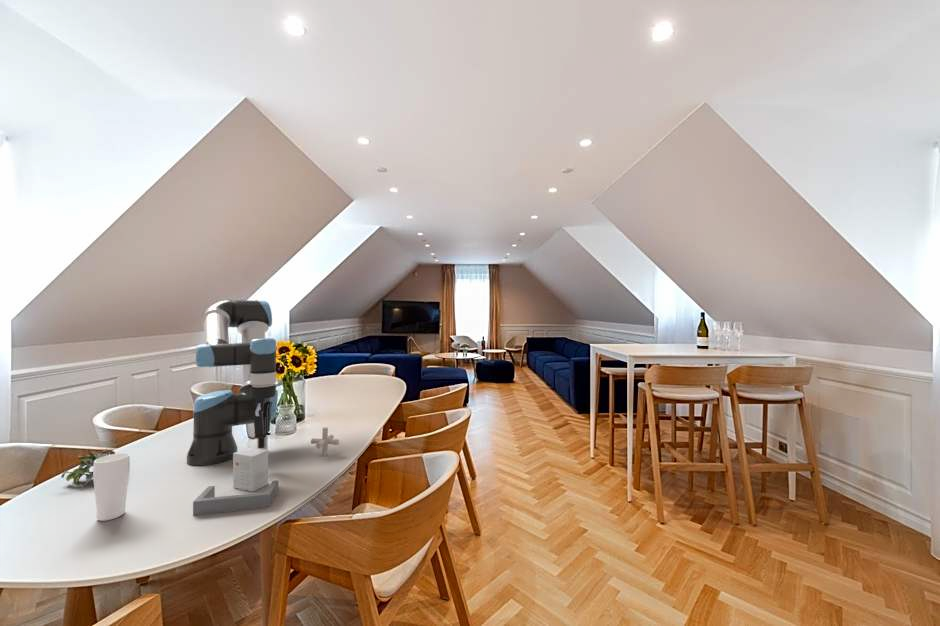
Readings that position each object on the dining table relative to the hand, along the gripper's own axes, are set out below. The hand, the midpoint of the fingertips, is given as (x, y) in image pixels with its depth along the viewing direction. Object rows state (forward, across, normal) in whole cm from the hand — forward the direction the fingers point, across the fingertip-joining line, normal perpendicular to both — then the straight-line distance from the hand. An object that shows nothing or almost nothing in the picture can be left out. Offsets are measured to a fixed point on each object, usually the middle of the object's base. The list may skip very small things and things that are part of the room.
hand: (262, 456), depth 124 cm
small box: (+5, +11, 0) cm, 12 cm away
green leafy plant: (+5, -3, -48) cm, 48 cm away
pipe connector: (+5, -11, +18) cm, 22 cm away
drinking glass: (+5, +22, -29) cm, 37 cm away
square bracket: (+5, +21, 0) cm, 21 cm away
